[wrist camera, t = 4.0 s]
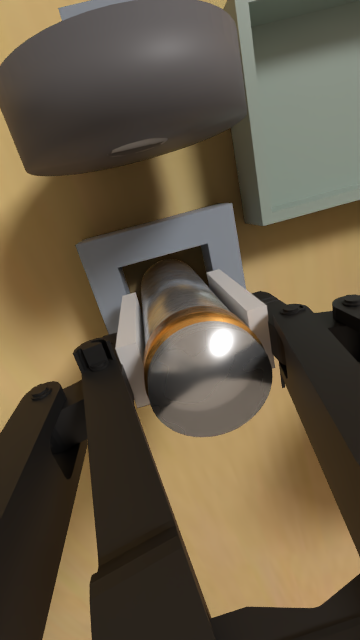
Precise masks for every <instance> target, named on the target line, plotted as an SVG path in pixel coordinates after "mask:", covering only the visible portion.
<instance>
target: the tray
mask: <svg viewBox="0 0 360 640" xmlns="http://www.w3.org/2000/svg"><path fill="white" fill-rule="evenodd" d="M223 10H224V11H225V12H227V13H228V14H229V15H230V16H231V17H232V19H233V20H234V22H235V24H236V27H237V34H238V42H239V50H240V58H241V65H242V73H243V81H244V89H245V97H246V105H247V115H246V116H245V118H243V119H242V120H241V121H240V122H239V123H237V124H236V125H234V126H232V127H231V133H232V140H233V146H234V153H235V160H236V167H237V173H238V180H239V187H240V194H241V200H242V207H243V214H244V221H245V223H248V224H254V225H260V226H265V225H269V224H273V223H276V222H280V221H284V220H287V219H291V218H295V217H298V216H302V215H306V214H309V213H313V212H317V211H320V210H324V209H328V208H331V207H335V206H339V205H342V204H346V203H350V202H353V201H357V200H360V0H227V2H226V4H225V7H224V9H223Z"/></svg>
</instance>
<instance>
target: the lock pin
mask: <svg viewBox="0 0 360 640" xmlns="http://www.w3.org/2000/svg"><path fill="white" fill-rule="evenodd" d="M141 297H142V311H143V325H144V340H145V351H144V358H143V366H144V383H145V390H146V393H147V396H148V398H149V401H150V405H151V407H152V409H153V411H154V413H155V414H156V416H157V417H158V419H159V420H160V421H161V422H162V423H163V424H165V425H166V426H167V427H169V428H170V429H172V430H173V431H176V432H178V433H180V434H184V435H187V436H193V437H211V436H217V435H221V434H225V433H227V432H230V431H232V430H235V429H237V428H238V427H240V426H242V425H243V424H245V423H246V422H248V421H249V420H250V419H251V418H252V417H253V416H254V415H255V414H256V413H257V412H258V411H259V410H260V409H261V407H262V406H263V404H264V403H265V401H266V399H267V397H268V395H269V392H270V389H271V384H272V367H271V363H270V360H269V358H268V355H267V354H266V352H265V350H264V347H263V345H262V343H261V342H260V340H259V339H258V338H257V336H256V335H255V334H254V333H253V332H252V331H251V330H250V329H249V327H248V326H247V325H246V324H245V323H244V322H243V321H242V320H241V319H240V318H239V317H238V316H236V315H235V314H233V313H232V312H230V311H229V309H228V308H227V307H226V306H225V305H224V304H223V303H222V302H221V301H220V299H219V298H218V297H217V296H216V295H215V294H214V293H213V292H212V290H211V289H210V288H209V287H208V286H207V285H206V284H205V283H204V281H203V280H202V279H201V278H200V277H199V276H198V275H197V274H196V273H195V271H194V270H193V269H192V268H191V267H190V266H189V265H188V264H186V263H185V262H183V261H180V260H176V259H164V260H161V261H158V262H156V263H155V264H153V265H152V266H151V267H149V269H148V270H147V271H146V272H145V274H144V276H143V279H142V282H141Z"/></svg>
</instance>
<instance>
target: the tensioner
mask: <svg viewBox="0 0 360 640" xmlns="http://www.w3.org/2000/svg"><path fill="white" fill-rule="evenodd" d="M58 9H59V12H60V15H61V19H62V21H61V22H59V23H57V24H55V25H52V26H50V27H48V28H46V29H44V30H43V31H41V32H39V33H38V34H36V35H34V36H33V37H31V38H29V39H28V40H27V41H25V42H24V43H23V44H21V45H20V46H19V47H17V48H16V49H15V50H14V51H13V52H12V53H11V54H10V55H9V56H8V57H7V58H6V59H5V60H4V61H3V63H2V64H1V66H0V108H1V111H2V113H3V116H4V118H5V121H6V123H7V126H8V128H9V131H10V133H11V136H12V138H13V141H14V143H15V145H16V148H17V150H18V153H19V155H20V158H21V160H22V163H23V165H24V168H25V170H26V172H27V173H29V174H31V175H36V176H63V175H73V174H80V173H87V172H93V171H98V170H104V169H108V168H113V167H118V166H122V165H126V164H130V163H134V162H138V161H142V160H146V159H149V158H153V157H156V156H160V155H163V154H166V153H170V152H173V151H176V150H179V149H182V148H185V147H187V146H190V145H193V144H196V143H198V142H201V141H203V140H206V139H208V138H210V137H213V136H215V135H217V134H219V133H221V132H223V131H225V130H227V129H229V128H231V127H232V126H234V125H236V124H237V123H239V122H240V121H241V120H242V119H243V118H245V116H246V115H247V105H246V97H245V89H244V81H243V73H242V65H241V58H240V50H239V42H238V34H237V27H236V24H235V22H234V20H233V19H232V17H231V16H230V15H229V14H228V13H227V12H225V11H224V10H223V9H221V8H219V7H217V6H215V5H212V4H210V3H207V2H202V1H198V0H91V1H87V2H82V3H78V4H74V5H70V6H65V7H61V8H58ZM200 245H201V250H202V255H203V260H204V264H205V269H206V274H207V272H210V271H214V270H218V269H220V270H221V271H222V272H224V273H225V274H226V275H228V276H229V277H230V278H231V279H233V280H234V281H235V282H237V283H238V284H239V285H241V286H242V287H243V288H245V289H246V286H245V280H244V274H243V268H242V261H241V255H240V249H239V243H238V236H237V230H236V224H235V218H234V212H233V205H232V203H219V204H215V205H212V206H208V207H204V208H200V209H197V210H193V211H189V212H185V213H182V214H178V215H174V216H170V217H167V218H163V219H159V220H155V221H152V222H148V223H144V224H140V225H137V226H133V227H129V228H126V229H122V230H118V231H114V232H111V233H107V234H103V235H99V236H96V237H92V238H88V239H84V240H82V241H80V242H79V243H77V244H76V245H75V246H76V248H77V251H78V254H79V256H80V259H81V262H82V264H83V267H84V270H85V272H86V275H87V278H88V280H89V283H90V285H91V288H92V291H93V293H94V296H95V299H96V301H97V304H98V307H99V309H100V312H101V315H102V317H103V320H104V323H105V325H106V328H107V331H108V333H109V334H113V333H116V332H118V325H119V317H120V310H121V303H122V296H124V295H127V294H130V291H129V288H128V284H127V281H126V278H125V275H124V272H123V269H122V267H123V266H126V265H130V264H134V263H137V262H141V261H145V260H148V259H152V258H156V257H159V256H163V255H167V254H170V253H174V252H178V251H181V250H185V249H189V248H192V247H196V246H200ZM209 288H210V287H209Z"/></svg>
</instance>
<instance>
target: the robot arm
mask: <svg viewBox="0 0 360 640" xmlns="http://www.w3.org/2000/svg"><path fill="white" fill-rule="evenodd" d="M207 278H208V283H209V287H210V289H211V290H212V292H213V293H214V294H215V295H216V296H217V297H218V298H219V299H220V301H221V302H222V303H223V304H224V305H225V306H226V307H227V308H228V309H229V311H230V312H232V313H233V314H235V315H236V316H238V317H239V318H240V319H241V320H242V321H243V322H244V323H245V324H246V325H247V326H248V327H249V329H250V330H251V331H252V332H253V333H254V334H255V335H256V336H257V338H258V339H259V340H260V342H261V343H262V345H263V347H264V350H265V352H266V354H267V355H268V358H269V360H270V363H271V367H272V368H275V364H274V356H275V357H276V358H277V359H278V361H279V367H280V375H281V383H282V388H285V384H286V387H287V389H288V391H289V394H290V396H291V398H292V401H293V403H294V405H295V408H296V410H297V412H298V414H299V417H300V419H301V421H302V424H303V426H304V428H305V431H306V433H307V435H308V438H309V440H310V442H311V445H312V447H313V449H314V452H315V454H316V456H317V458H318V461H319V463H320V465H321V468H322V470H323V472H324V475H325V477H326V479H327V482H328V484H329V486H330V489H331V491H332V493H333V496H334V498H335V500H336V502H337V505H338V507H339V509H340V512H341V514H342V516H343V519H344V521H345V523H346V526H347V528H348V530H349V533H350V535H351V537H352V540H353V542H354V544H355V546H356V549H357V551H358V554H359V556H360V295H346V296H344V297H340V298H337V299H335V300H334V301H333V302H332V306H333V311H328V312H321V313H313V312H312V311H311V310H310V308H308V307H307V306H305V305H301V304H289V305H286V304H285V303H283V302H282V301H280V300H278V299H277V298H276V297H274V296H273V295H271V294H270V293H267V292H262V291H259V292H255V293H252V294H251V293H250V292H248V291H247V290H246V289H245V288H243V287H242V286H241V285H239V284H238V283H237V282H235V281H234V280H233V279H231V278H230V277H229V276H228V275H226V274H225V273H224V272H222V271H221V270H220V269H218V270H214V271H210V272H207ZM144 351H145V340H144V325H143V314H142V311H141V308H140V305H139V302H138V299H137V296H136V292H135V293H131V294H127V295H124V296H122V303H121V310H120V317H119V325H118V332H116V333H113V334H109V335H106V336H103V338H96V339H93V340H90V341H87V342H85V343H83V344H81V345H80V346H78V347H77V348H76V349H75V350H74V352H73V355H74V357H75V360H76V362H77V364H78V366H79V369H80V371H81V373H82V380H80V381H79V382H77V383H75V384H73V385H71V386H69V387H67V388H64V389H62V387H61V385H60V384H59V383H58V382H54V381H52V382H47V383H44V384H40V385H37V387H34V388H32V390H30V391H29V392H28V393H26V395H25V396H24V397H23V398H22V400H21V401H20V403H19V404H18V406H17V408H16V409H15V411H14V412H13V414H12V416H11V417H10V419H9V420H8V422H7V424H6V425H5V427H4V429H3V430H2V432H1V433H0V640H42V638H43V633H44V629H45V625H46V621H47V616H48V612H49V608H50V603H51V599H52V595H53V590H54V586H55V582H56V578H57V573H58V569H59V565H60V560H61V556H62V552H63V547H64V543H65V539H66V535H67V530H68V526H69V522H70V517H71V513H72V509H73V504H74V500H75V496H76V491H77V487H78V483H79V479H80V474H81V470H82V466H83V461H84V457H85V453H86V448H87V439H88V451H89V462H90V473H91V484H92V495H93V506H94V517H95V528H96V539H97V550H98V565H99V567H98V572H97V573H95V574H93V575H92V577H91V581H90V615H91V632H92V640H360V574H359V575H358V576H356V577H355V578H354V579H353V580H351V581H350V582H349V583H348V584H347V585H345V586H344V587H343V588H342V589H341V590H339V591H338V592H337V593H336V594H335V595H333V596H332V597H331V598H330V599H328V600H327V601H326V602H325V603H324V604H322V605H321V606H319V607H316V608H277V607H245V608H242V609H239V610H236V611H233V612H229V613H226V614H223V615H220V616H217V617H214V618H211V616H210V613H209V610H208V608H207V605H206V602H205V599H204V597H203V594H202V591H201V588H200V586H199V583H198V580H197V577H196V574H195V572H194V569H193V566H192V563H191V561H190V558H189V555H188V552H187V550H186V547H185V544H184V541H183V539H182V536H181V533H180V530H179V528H178V525H177V522H176V519H175V517H174V514H173V511H172V508H171V506H170V503H169V500H168V497H167V494H166V492H165V489H164V486H163V483H162V481H161V478H160V475H159V472H158V470H157V467H156V464H155V461H154V459H153V456H152V453H151V450H150V448H149V445H148V442H147V439H146V437H145V434H144V431H143V428H142V426H141V423H140V420H139V417H138V414H137V412H136V409H135V407H134V400H135V402H136V405H137V408H139V407H143V406H146V405H150V401H149V398H148V396H147V393H146V390H145V383H144V366H143V358H144ZM273 355H274V356H273Z"/></svg>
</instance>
